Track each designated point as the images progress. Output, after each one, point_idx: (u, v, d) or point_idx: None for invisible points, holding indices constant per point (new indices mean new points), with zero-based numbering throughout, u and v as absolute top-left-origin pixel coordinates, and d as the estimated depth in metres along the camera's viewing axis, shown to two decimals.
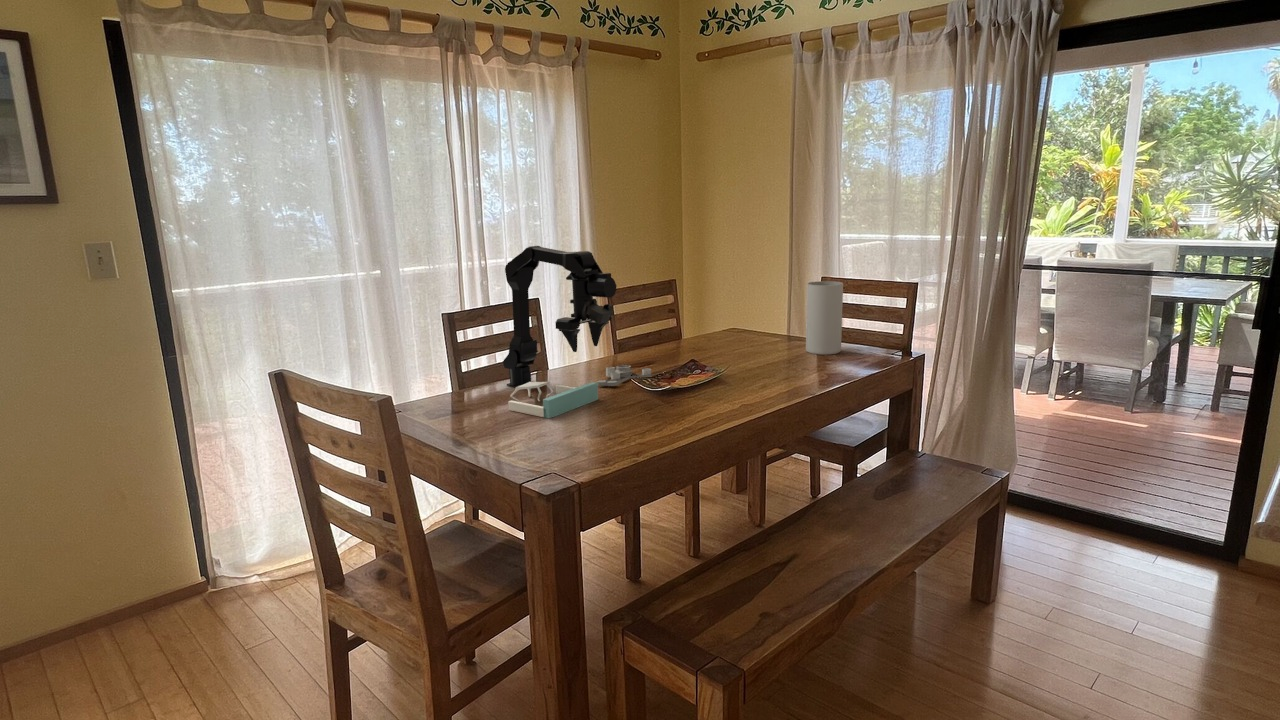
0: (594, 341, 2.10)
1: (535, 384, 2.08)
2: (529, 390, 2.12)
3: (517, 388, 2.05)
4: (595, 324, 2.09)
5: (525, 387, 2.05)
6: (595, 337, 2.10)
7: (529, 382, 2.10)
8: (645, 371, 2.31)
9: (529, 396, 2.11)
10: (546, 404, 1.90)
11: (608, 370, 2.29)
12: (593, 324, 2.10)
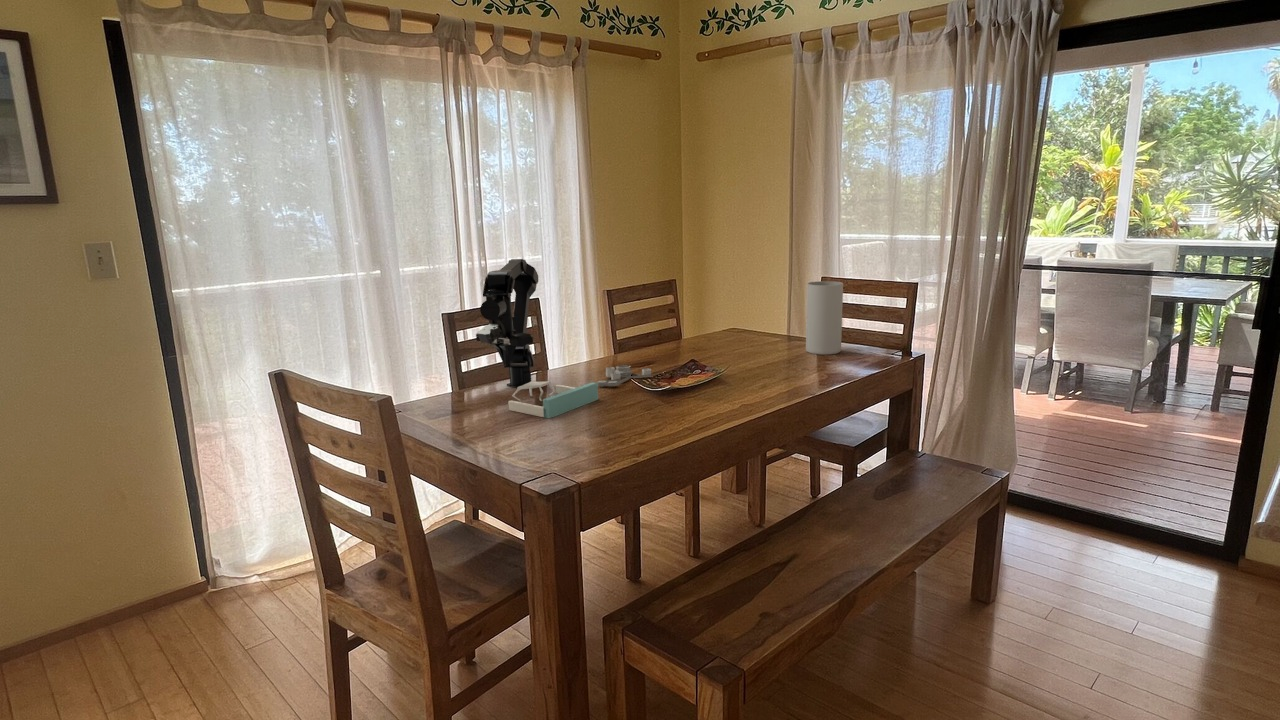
0: None
1: (537, 384, 2.08)
2: (530, 390, 2.12)
3: (519, 388, 2.05)
4: None
5: (527, 387, 2.06)
6: None
7: (531, 382, 2.10)
8: (645, 371, 2.30)
9: (531, 396, 2.11)
10: (546, 404, 1.90)
11: (608, 370, 2.29)
12: None
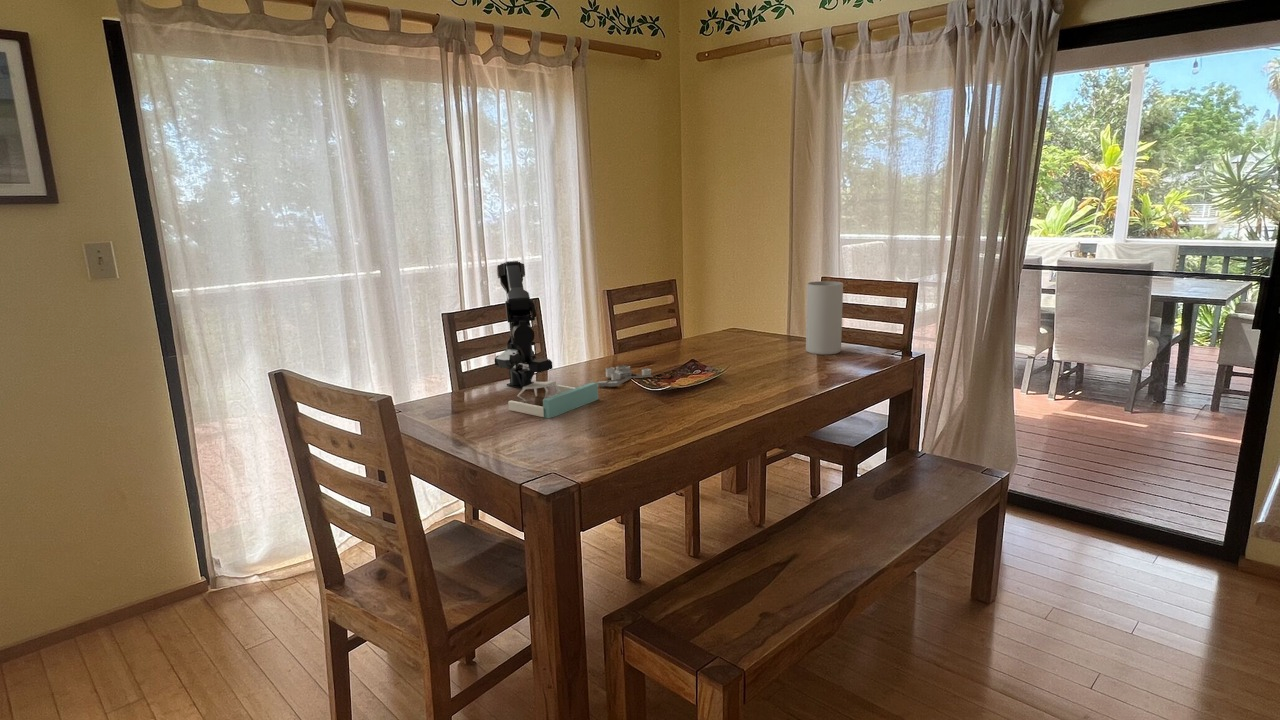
0: None
1: (542, 384, 2.07)
2: (535, 390, 2.12)
3: (524, 388, 2.05)
4: None
5: (532, 387, 2.05)
6: None
7: (536, 382, 2.10)
8: (645, 371, 2.30)
9: (536, 396, 2.11)
10: (546, 404, 1.90)
11: (608, 371, 2.28)
12: None
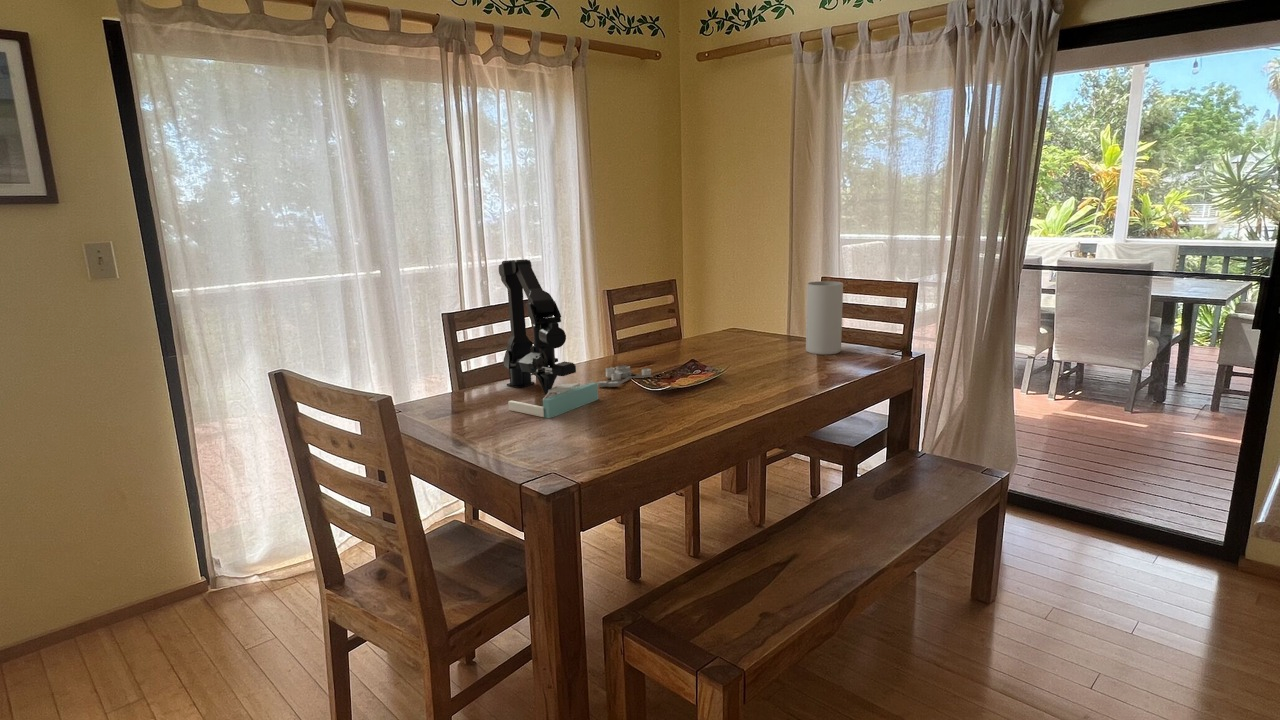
0: None
1: (567, 386, 2.04)
2: (558, 392, 2.08)
3: (550, 391, 2.01)
4: None
5: (558, 389, 2.01)
6: None
7: (559, 384, 2.06)
8: (645, 371, 2.30)
9: None
10: (546, 404, 1.90)
11: (608, 371, 2.28)
12: None
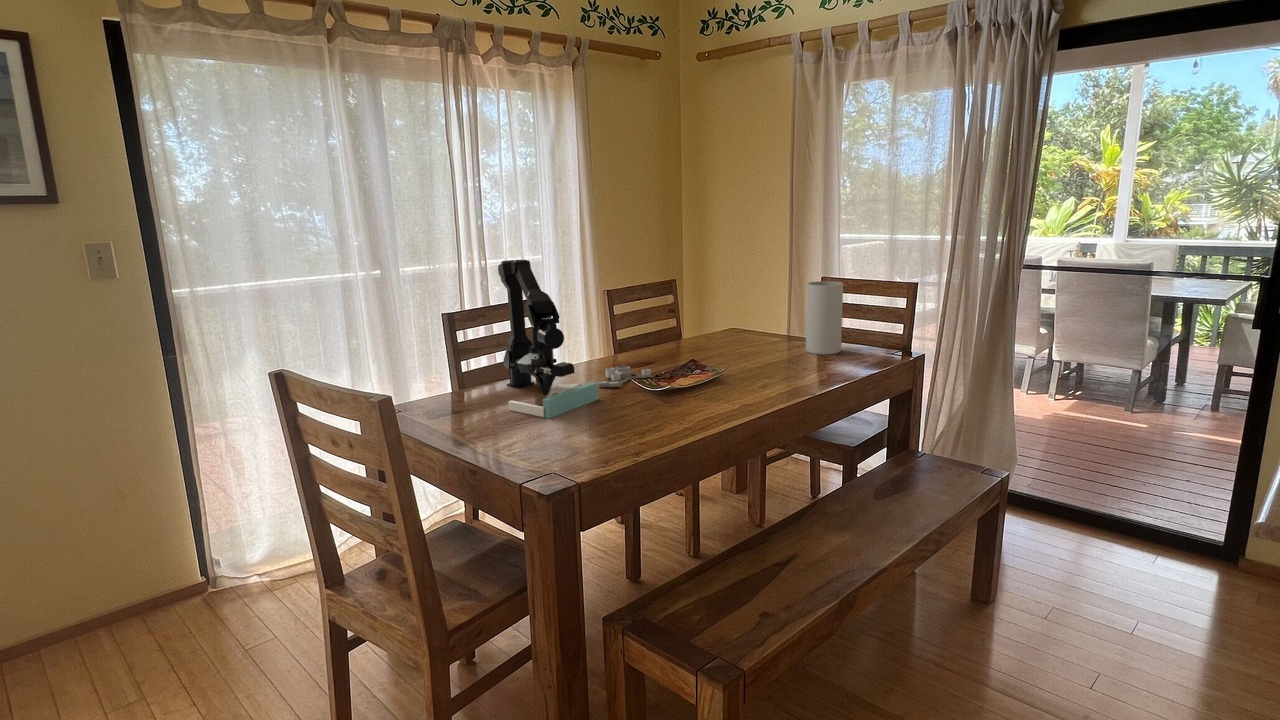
0: None
1: (570, 386, 2.04)
2: None
3: (553, 391, 2.01)
4: None
5: (561, 389, 2.01)
6: None
7: (562, 384, 2.06)
8: (645, 371, 2.30)
9: None
10: (546, 404, 1.90)
11: (608, 371, 2.28)
12: None
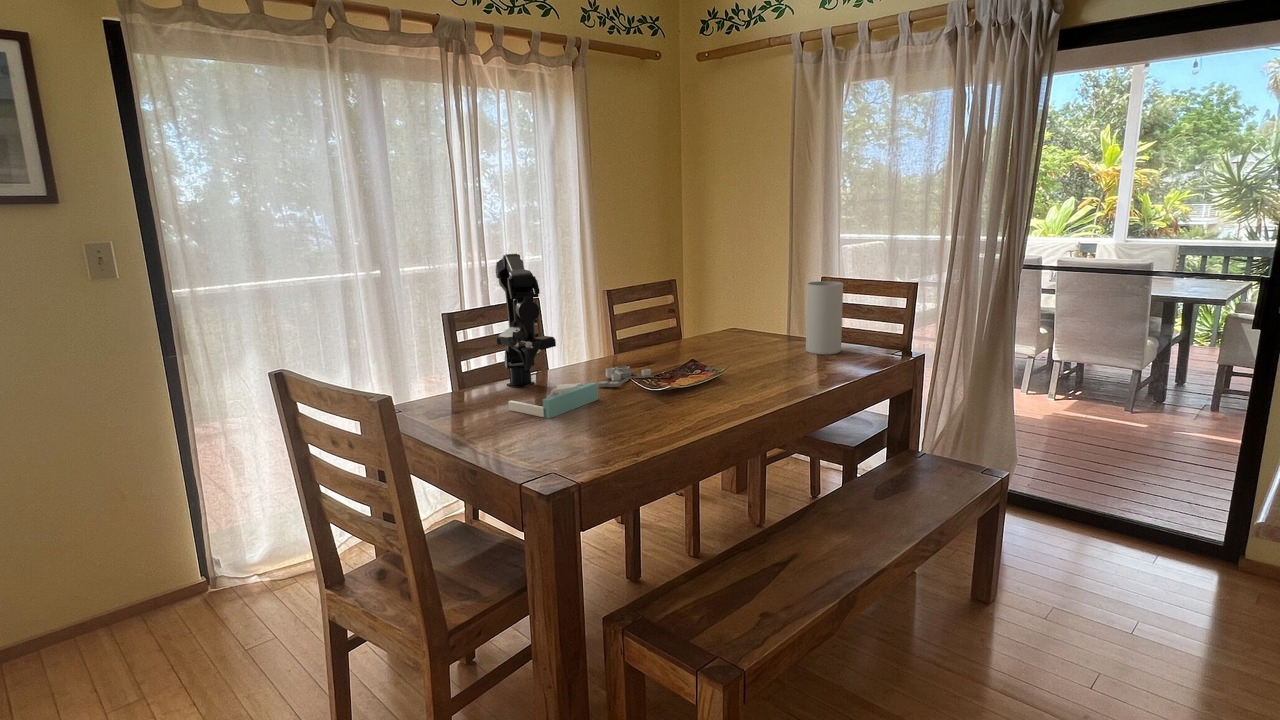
0: None
1: (570, 386, 2.04)
2: None
3: (553, 391, 2.01)
4: None
5: (561, 389, 2.02)
6: None
7: (562, 384, 2.06)
8: (645, 371, 2.30)
9: None
10: (546, 404, 1.90)
11: (608, 371, 2.28)
12: None
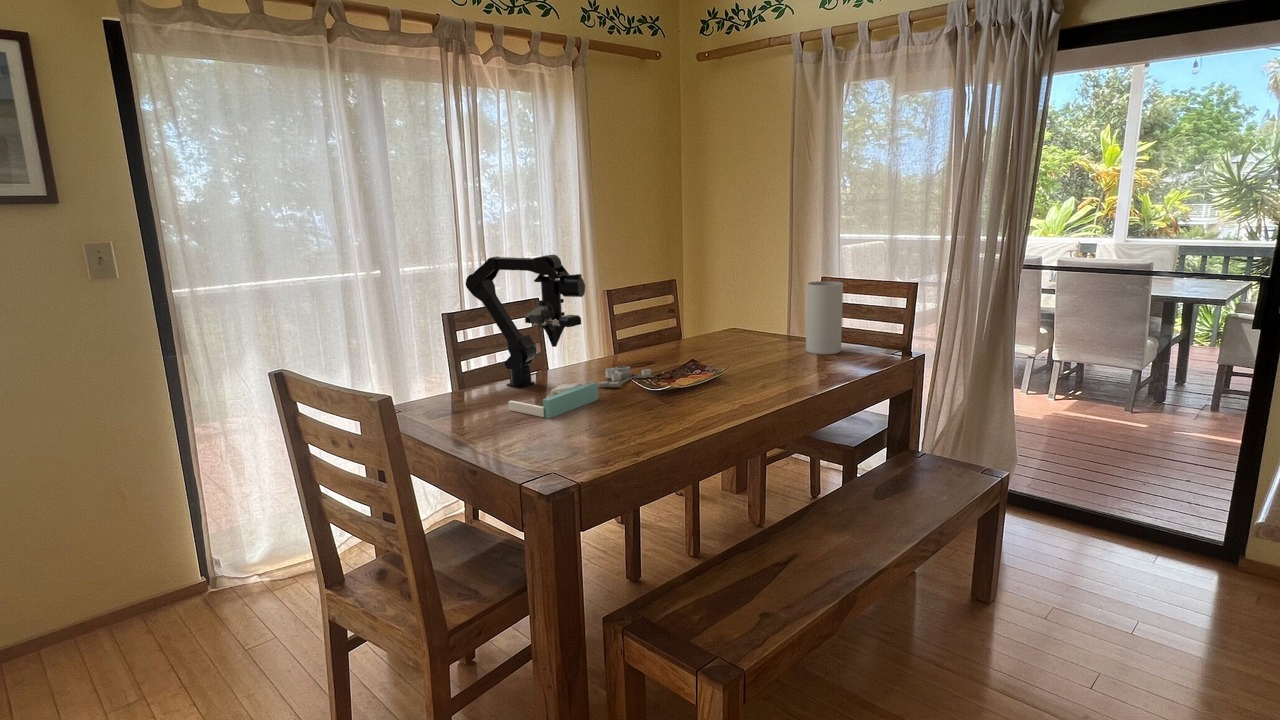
0: None
1: (569, 386, 2.04)
2: (561, 392, 2.08)
3: (553, 391, 2.01)
4: None
5: (561, 389, 2.02)
6: None
7: (562, 384, 2.06)
8: (645, 372, 2.30)
9: None
10: (546, 404, 1.90)
11: (608, 371, 2.28)
12: None
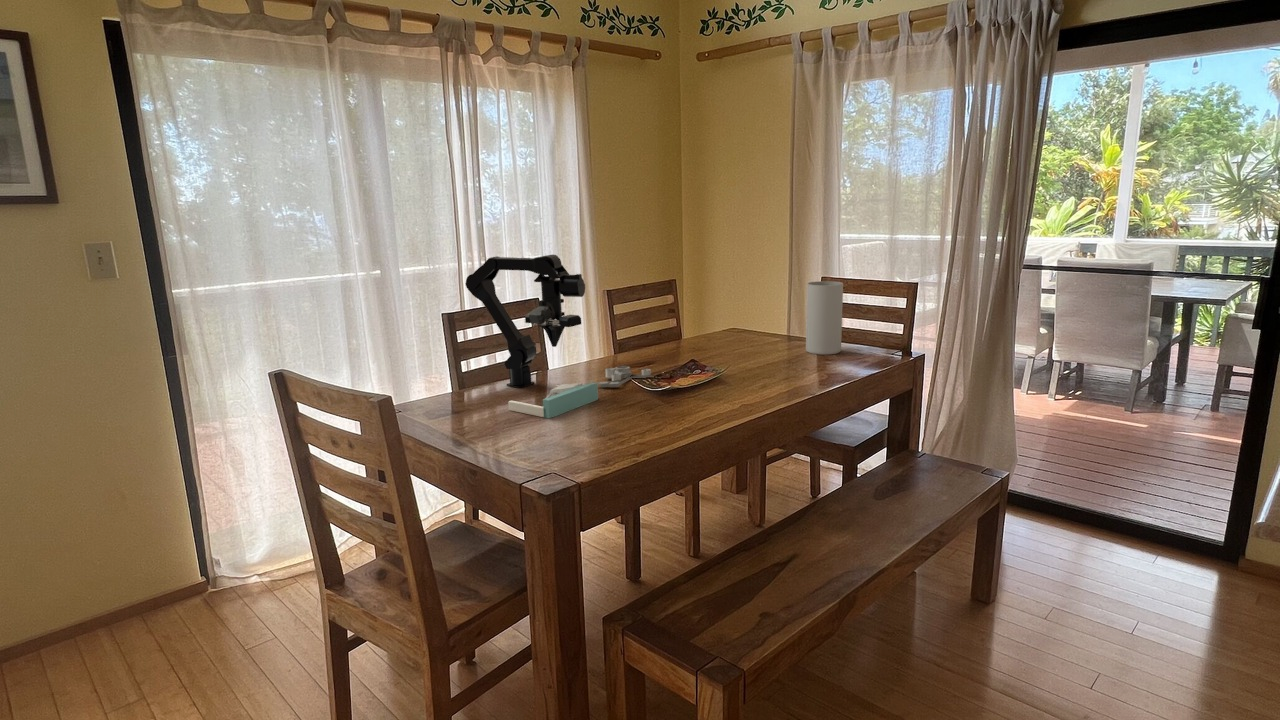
0: None
1: (569, 386, 2.04)
2: (561, 392, 2.09)
3: (552, 390, 2.01)
4: None
5: (560, 389, 2.02)
6: None
7: (562, 384, 2.06)
8: (645, 372, 2.30)
9: None
10: (546, 404, 1.90)
11: (608, 371, 2.28)
12: None
